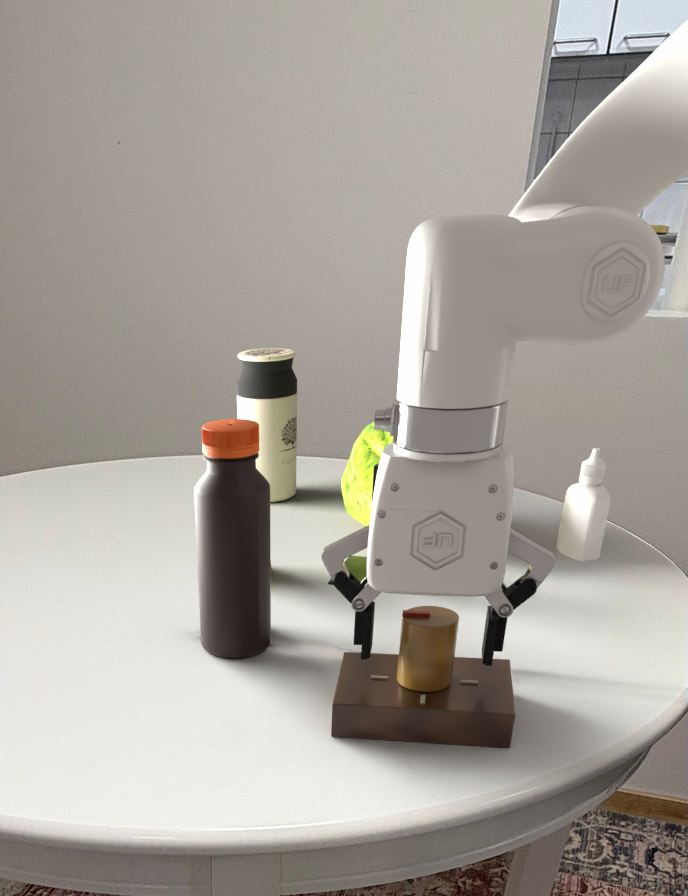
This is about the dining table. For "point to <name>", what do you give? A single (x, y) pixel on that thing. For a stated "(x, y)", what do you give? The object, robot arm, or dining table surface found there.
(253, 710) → the dining table surface
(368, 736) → the knob panel
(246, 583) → the vinegar
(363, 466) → the lettuce
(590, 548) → the eye dropper bottle
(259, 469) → the travel mug
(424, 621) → the tap knob
